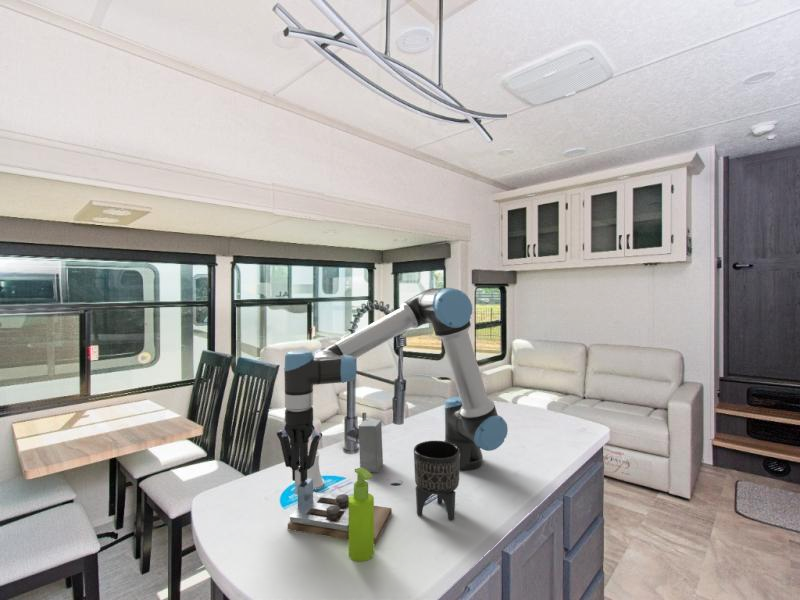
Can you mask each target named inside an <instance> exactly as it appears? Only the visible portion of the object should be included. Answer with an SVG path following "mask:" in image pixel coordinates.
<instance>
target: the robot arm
mask: <svg viewBox="0 0 800 600" xmlns="http://www.w3.org/2000/svg"><path fill="white" fill-rule="evenodd" d="M472 314H473V305H472V301H471V299H470V298H469V296H468V295H467V294H466V293H465V292H464V291H462V290H459V289H456V288H452V287H442V288H436V287H435V288H434V287H433V288H428V289H425V290H423V291H422V292H420V293H418V294H416V295H414V296H412V297H411V298H409V299H408V300H407V299H406V301H404V302H402V303H401V304H400V307H399V308H398V309H395V310H393V311H392V312H390V313H389V314H387V315H385V316H383V317H381V318H380V319H379V318H378V319H377V320H375V321H374V322H371V323H370V324H368V325H366V326H365V327H363V328H361V329H359V330H357V331H355V332H354V333H352V334H349V335H348V336H346V337H345V338H342V339H341V340H339V341H337V342H335V343H333V344H332V345H331V344H330V345H329V346H327V347H322V348H321V347H320V348H319V349H316V350H315V351H314V353H313V352H312V351H311V350H307V349H305V350H304V349H300V350H297V349H296V350H291V351H290V350H289V351H288V352H287V353H286V354H285V355H284V368H283V371H284V408H285V409H284V422H285V425H284V428H282V429H281V430H279V431H277V432H276V436H277V438H278V440H279V441H280V447H281V452H282V457H283V459H284V464H285V467H286V468H291V470H292V471H291V472H292V475H291V478H292V481H293V482H294V495H297V496H298V486H299V485H300V484H301V483H302V482H305V481H306V480H307V469H310V468H311V467H312V466H313V465H314V462H315V457H316V453H317V452H318V448H319V444H320V443H319V442H320V440H321V439H322V437H323V433H322V432H317V431H316V430H315V426H314V408H313V407H312V406H314V386H315V385H316V386H317V385H327V384H340V383H342V384H344V383H348V382H353V381H354V380H355V379H356V377H357V363H356V359H357V358H358V359H359V358H360V357H362V356H364V355H365V354H367V353H369V352H370V351H372V350H374V349H376V348H377V347H379V346H381V345H382V344H385V343H386V342H389V340H392V339H394V338H395V337H397V336H399V335H400V334H402V333H404V332H405V331H407V330H409V329H417V328H419V327H421V326H423V325H427V324H431V325H432V327H433V328H432V329H433V332H434V335H435V336H436V337H437V338H439V339H441V341H442V345H443V348H444V350H445V354H446V358H447V360H448V364H449V366H450V370H451V373H452V377H453V380H454V383H455V387H456V390H457V393H458V396H452V397H449V398H447V399H446V400H445V404H444V405H445V406H444V413H445V415H444V421H445V422H444V425H445V426H444V428H445V429H444V435H445V437H444V438H445V439H444V441H445V442H449V443H452V444H454V445H456V446H458V447H459V449H460V471H468V470H475V469H478V468H480V467H482V465H483V461H484V460H483V454H482V451H481V449H482V450H484V451H488V452H491V451H495V450H497V449H498V448H499V447H501V446H502V445H503V443H504V442H505V439H506V438H507V435H508V424H507V422H506V420H505V419H504V418H503V416H501V415H499V414H498V412H497V407H496V405H495V403H494V400H492V399H490V398H488V395H487V391H486V388H485V385H484V384H485V383H484V382H483V381H484V380H483V377H482V375H481V371H480V368H479V365H478V361H477V358H476V354H475V352H474V348H473V344H472V340H471V339H470V335H469V330H470V328H471V326H472V323H471V318H472V317H471V316H472ZM310 437H311V439H310ZM310 440H311V443H310V447H309V442H310ZM308 452H309V455H308Z"/></svg>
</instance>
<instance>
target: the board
mask: <svg viewBox="0 0 800 600" xmlns="http://www.w3.org/2000/svg"><path fill="white" fill-rule="evenodd" d="M349 497H350V496H349V495H348V494H344V493H343V494H338V496H337V497H336V502H337V503H339V504H332V503H325V502H321V503H323V504H330V505H333V506H329V507H328V508H327V514H328V515H329V516H325V515H319V514H312V513H311V514H310V515H314V516H320V517H327V520H330V521H336V522H338V521H339V520H340V518H341V517H342V516H338V515H337V514H339V513H340V508H344V509H348V507H349V504H346V502H348V500H349ZM335 505H336V506H335ZM392 511H393V510H392V507H386V506H379V505H374V546H375V545H376V544H377V543H378V541H379V540H380V537H381V536H382V534H383V531H384V530H385V527H386V525H387V524H388V521H389V519H390V517H391V516H392V514H393V513H392ZM288 529H290V530H289V531H294V530H296V531H295V532H299V531H301V532H300V533H305V532H306V534H312V535H319V536H324V537H330V538H336V539H342V540H347V541H349V530H348V531H343V530H337V529H331V528H324V527H318V526H312V525H306V524H300V523H294V522H290V521H288V523H287V530H288Z"/></svg>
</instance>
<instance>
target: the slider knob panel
mask: <svg viewBox="0 0 800 600" xmlns="http://www.w3.org/2000/svg"><path fill="white" fill-rule="evenodd" d="M338 495H339V494H338ZM338 495H337V494H332V493H331V494H329V493H323V492H318V491H317V492H315V491H313V479H311V478H307V480H306V481H305V482H302V483H301V484H300V485H299V486H298V495H297V509H295V511H294V512H293V513H292V514H290V515H289V522H294V523H300V524H306V525H312V526H318V527H324V528H331V529H337V530H343V531H348V530H349V507H348V509H344V508H340V513H339V514H337V515H338V516H342V517H341V518H340V520H339V521H338V522H336V521H330V520H327V517H320V516H314V515H310V514H311V513H312V514H319V515H325V516H329V515H328V514H327V508H328V507H329V506H333V505H330V504H323V503H321V502H325V503H332V504H339V503H337V502H336V497H337V496H338ZM346 504H349V500H348V502H346ZM335 506H336V505H335Z"/></svg>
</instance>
